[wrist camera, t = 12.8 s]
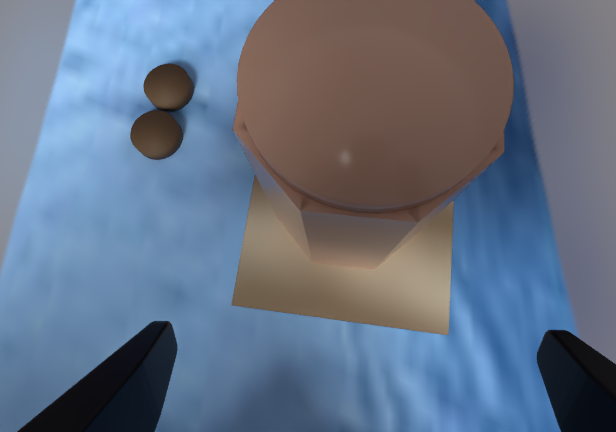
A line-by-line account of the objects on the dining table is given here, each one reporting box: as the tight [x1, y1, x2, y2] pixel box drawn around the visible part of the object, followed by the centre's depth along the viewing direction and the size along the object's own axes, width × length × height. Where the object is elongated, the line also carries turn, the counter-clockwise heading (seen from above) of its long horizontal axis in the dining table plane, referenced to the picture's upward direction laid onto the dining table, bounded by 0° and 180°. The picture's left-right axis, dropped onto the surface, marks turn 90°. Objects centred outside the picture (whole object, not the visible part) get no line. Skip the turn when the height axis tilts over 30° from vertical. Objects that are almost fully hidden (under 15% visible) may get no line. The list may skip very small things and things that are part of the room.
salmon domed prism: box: [233, 0, 514, 270], centre depth 14 cm, size 7×7×10 cm
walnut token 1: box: [144, 64, 194, 111], centre depth 22 cm, size 3×3×1 cm
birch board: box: [232, 175, 454, 335], centre depth 20 cm, size 12×10×1 cm
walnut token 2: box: [130, 110, 183, 160], centre depth 21 cm, size 3×3×1 cm
